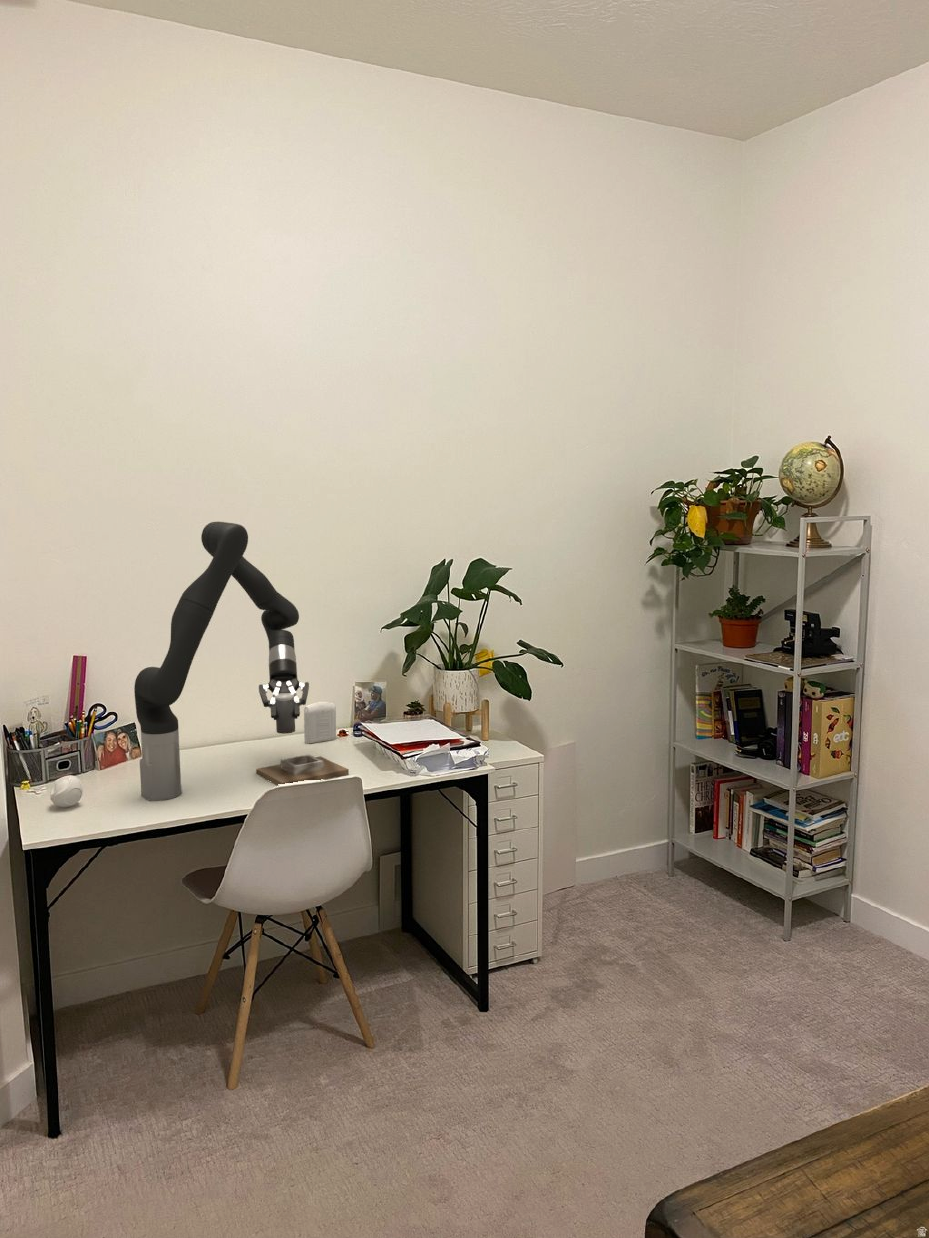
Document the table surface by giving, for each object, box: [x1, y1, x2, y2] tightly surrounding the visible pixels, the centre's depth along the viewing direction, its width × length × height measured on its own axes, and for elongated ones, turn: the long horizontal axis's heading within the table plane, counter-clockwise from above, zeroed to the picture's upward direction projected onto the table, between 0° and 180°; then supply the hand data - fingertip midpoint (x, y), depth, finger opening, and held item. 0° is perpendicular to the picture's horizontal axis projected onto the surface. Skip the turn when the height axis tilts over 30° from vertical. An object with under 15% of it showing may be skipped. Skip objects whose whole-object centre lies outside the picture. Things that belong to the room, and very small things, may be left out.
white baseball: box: [49, 775, 84, 808], centre depth 238 cm, size 8×8×8 cm
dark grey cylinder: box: [275, 693, 296, 735], centre depth 257 cm, size 5×5×10 cm
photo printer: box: [303, 701, 337, 744], centre depth 298 cm, size 10×4×12 cm, turn 123°
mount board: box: [255, 753, 350, 786], centre depth 264 cm, size 20×16×4 cm
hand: (285, 717), depth 256 cm, fingers closed on dark grey cylinder, 5 cm apart
